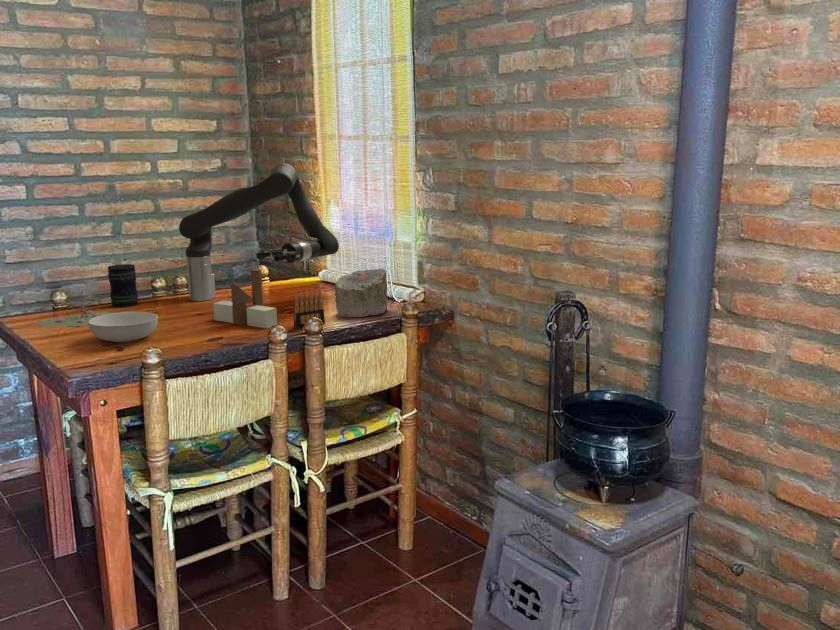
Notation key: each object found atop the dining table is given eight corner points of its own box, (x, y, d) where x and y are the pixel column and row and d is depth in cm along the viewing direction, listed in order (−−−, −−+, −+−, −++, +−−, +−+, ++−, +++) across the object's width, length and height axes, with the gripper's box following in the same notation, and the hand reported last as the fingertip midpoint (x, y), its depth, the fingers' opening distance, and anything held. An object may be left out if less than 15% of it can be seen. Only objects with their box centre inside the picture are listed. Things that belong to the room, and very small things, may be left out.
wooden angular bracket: (233, 323, 272) (229, 271, 268) (261, 318, 279) (258, 268, 275) (238, 325, 270) (234, 273, 265) (266, 320, 276) (263, 269, 272)
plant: (39, 333, 266) (35, 306, 264) (32, 321, 283) (29, 296, 281) (117, 322, 279) (114, 297, 276) (106, 312, 296) (103, 288, 294)
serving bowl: (159, 344, 248) (157, 322, 246) (87, 350, 242) (84, 328, 240) (160, 328, 267) (158, 308, 266) (93, 334, 261) (91, 313, 260)
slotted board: (225, 317, 282) (223, 300, 281) (277, 325, 269) (276, 308, 267) (214, 319, 278) (213, 303, 277) (266, 328, 265) (265, 310, 263)
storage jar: (106, 305, 304) (101, 259, 300) (128, 301, 312) (123, 255, 307) (122, 308, 298) (117, 261, 294) (144, 303, 306) (139, 257, 302)
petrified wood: (335, 319, 276) (333, 276, 273) (336, 308, 293) (334, 268, 290) (389, 317, 278) (388, 275, 274) (387, 306, 295) (386, 266, 291)
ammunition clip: (322, 322, 272) (321, 288, 269) (325, 323, 270) (323, 289, 267) (293, 327, 266) (291, 292, 263) (296, 328, 264) (294, 292, 262)
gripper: (282, 239, 297) (250, 245, 284) (311, 243, 290) (280, 248, 276) (282, 259, 299) (251, 265, 286) (311, 263, 291) (281, 270, 278)
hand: (265, 257), depth 281 cm, fingers open, 8 cm apart
